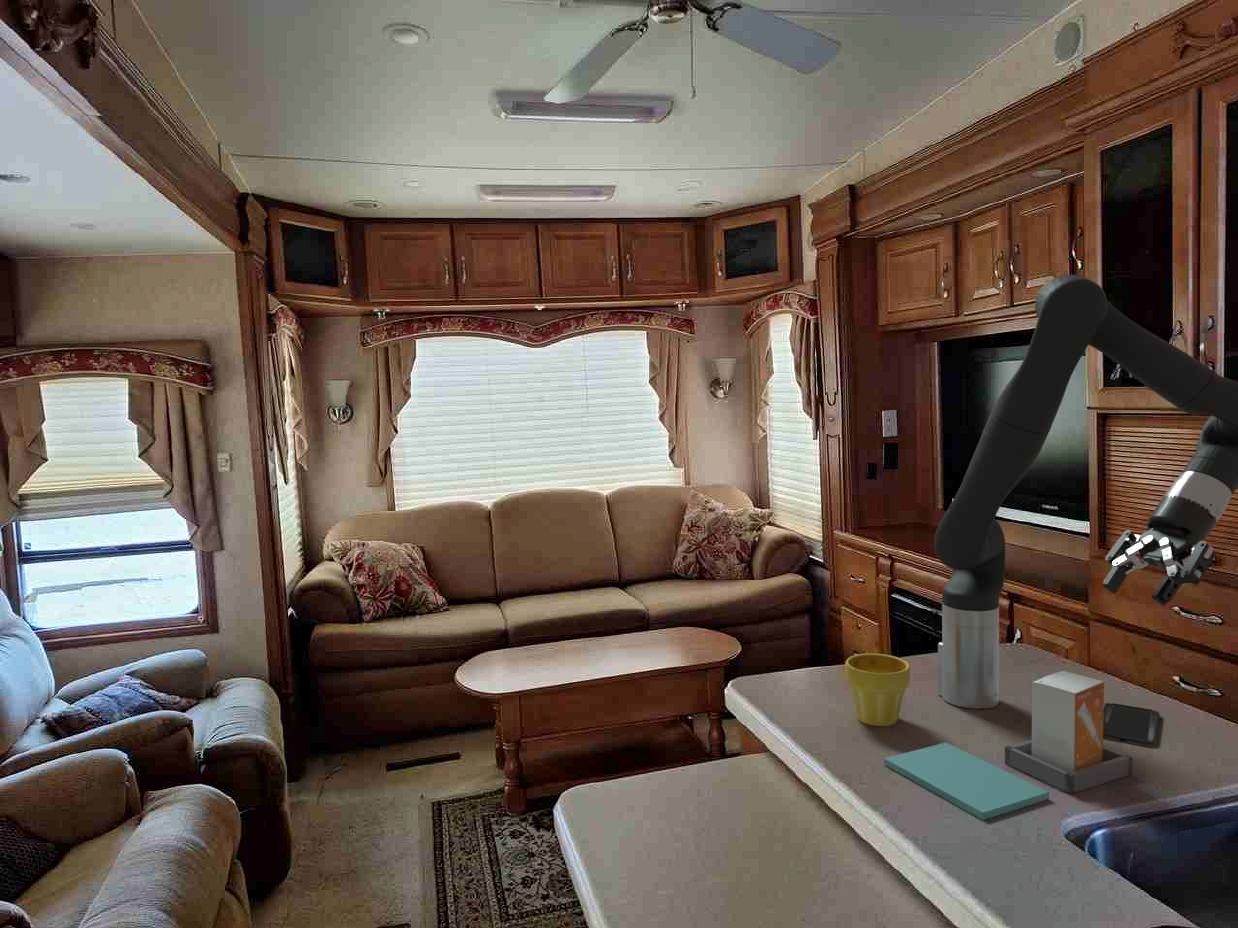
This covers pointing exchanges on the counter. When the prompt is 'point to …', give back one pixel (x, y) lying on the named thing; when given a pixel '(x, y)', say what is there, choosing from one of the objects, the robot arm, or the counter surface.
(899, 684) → the plant pot
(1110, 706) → the phone
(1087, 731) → the small box
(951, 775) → the board
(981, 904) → the counter surface
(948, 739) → the counter surface
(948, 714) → the counter surface
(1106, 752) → the tray frame
